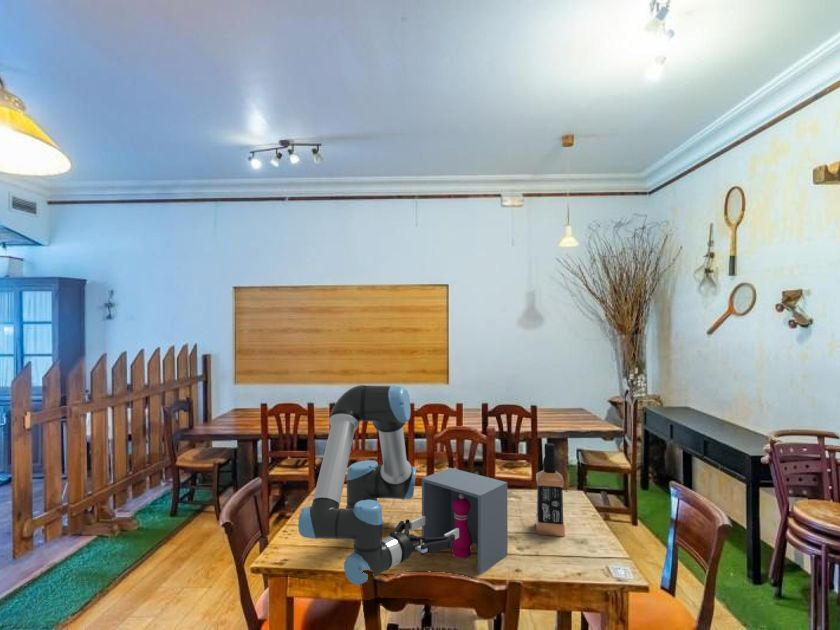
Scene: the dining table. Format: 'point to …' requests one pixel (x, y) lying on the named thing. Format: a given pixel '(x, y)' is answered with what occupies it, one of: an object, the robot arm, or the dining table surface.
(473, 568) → the dining table surface
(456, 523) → the pepper mill
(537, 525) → the whiskey bottle
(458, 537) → the robot arm
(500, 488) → the cubby
